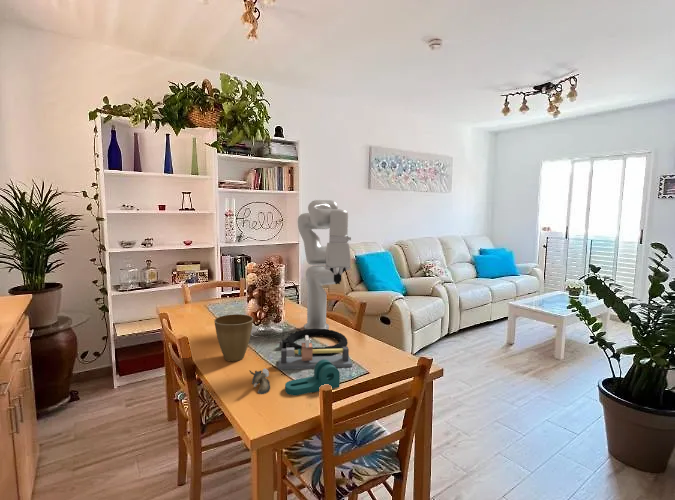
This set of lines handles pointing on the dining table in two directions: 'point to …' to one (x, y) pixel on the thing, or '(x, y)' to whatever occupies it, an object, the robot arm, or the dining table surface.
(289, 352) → the linear slide rail
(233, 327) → the plant pot
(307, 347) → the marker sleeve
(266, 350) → the dining table surface
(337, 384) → the bracket
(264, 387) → the grey furry figure
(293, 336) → the cable lock
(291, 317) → the dining table surface
